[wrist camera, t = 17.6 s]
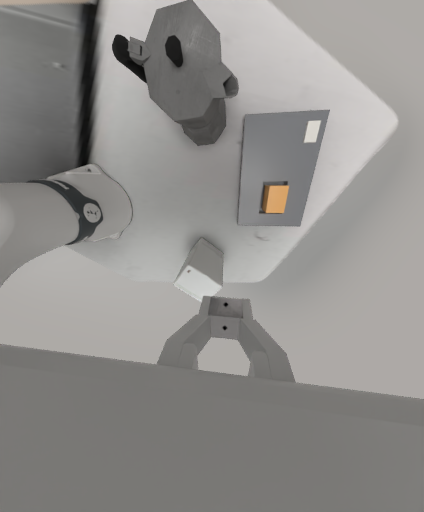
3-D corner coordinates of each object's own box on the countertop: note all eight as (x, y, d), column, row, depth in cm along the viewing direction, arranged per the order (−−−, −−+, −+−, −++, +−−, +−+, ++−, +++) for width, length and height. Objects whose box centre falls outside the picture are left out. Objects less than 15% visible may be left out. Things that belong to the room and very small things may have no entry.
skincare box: (189, 252, 44) (169, 284, 30) (202, 235, 41) (187, 262, 27) (212, 268, 45) (203, 306, 31) (225, 253, 43) (223, 287, 29)
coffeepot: (244, 98, 28) (261, -12, 12) (227, 156, 32) (223, 131, 16) (165, 70, 28) (73, -85, 12) (158, 132, 32) (85, 82, 16)
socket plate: (237, 222, 38) (237, 225, 35) (244, 120, 29) (245, 113, 26) (294, 223, 37) (301, 227, 34) (320, 116, 28) (332, 108, 25)
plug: (260, 208, 36) (265, 212, 30) (263, 185, 33) (269, 185, 28) (276, 208, 35) (283, 213, 30) (280, 185, 33) (289, 185, 28)
